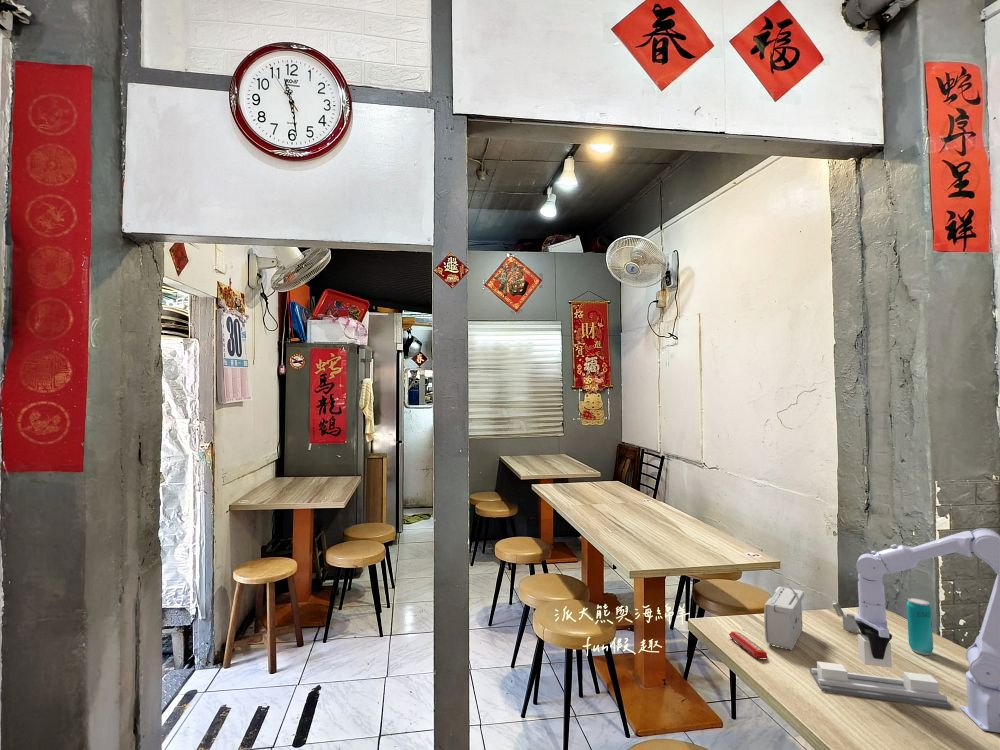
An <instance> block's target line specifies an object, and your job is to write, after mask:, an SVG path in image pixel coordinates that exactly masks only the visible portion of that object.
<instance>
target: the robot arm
mask: <svg viewBox="0 0 1000 750" xmlns="http://www.w3.org/2000/svg"><path fill="white" fill-rule="evenodd" d="M972 553H974V554H975V556H976V557H977V558H979V560H981V561H982V562H984V563H986V564H987V565H989V566H990V568H991V569H992V570H993V571H994V572H995V574H996V577H995V581H994V584H993V587H992V591H991V595H990V597H989V600H988V604H987V607H986V611H985V614H984V617H983V621H982V624H981V627H980V630H979V631H980V632H979V634H978V635H976V638H975V640H974V642H973V644H972V645H970V646H969V647H968V648H967V649H966V651H965V657H966V660H967V662H968V665H969V667H968V668H969V670H968V671H966V673H965V679H966V680H965V681H966V694H967V695H966V697H967V698H966V699H967V706H965V705H959V709H960V710H961V711H962V712H963V713H965V715H966V716H968V717H969V719H971V721H973V723H975V724H976V725H977V727H979V729H981V730H983V731H985V732H986V731H987V732H990V733H991V732H992V733H1000V533H998V532H996V531H994V530H992V529H989V528H985V527H984V528H983V527H981V528H976V529H974V530H972V531H971V530H966V531H961V532H958V533H955V534H951V535H947V536H943V537H942V538H939V539H935V540H931V541H928V542H925V543H923V544H919V545H916V546H913V547H909V546H907V545H904V544H899V545H897V544H896V543H894V544H890V547H889V548H886V549H882V550H879V551H876V550H872V551H871V552H870V553H863V554H861V555H860V556H859V557H858V558H857V561H856V564H855V565H856V566H855V567H856V571H857V573H858V574H857V579H858V581H857V590H858V592H857V593H858V608H857V615H854V618H855V619H856V620H855V622H856V623H857V625H858V627H859V633H861V634H860V635H867V637H868V639H869V642H870V647H871V652H872V656H873V658H875V659H883V658H884V655H885V651H886V647H887V645H888V643H890V641H891V640H892V639H893V635H892V634H891V633H890V630H889V629H888V620H887V615H886V614H887V612H886V596H885V595H886V593H885V585H884V583H883V576H884V575H886V574H887V575H891V574H895V573H900V572H904V571H906V570H910V569H914V568H917V566H918V563H919V561H924V560H927V559H932V558H933V559H934V558H936V557H941V556H947V555H950V554H959V555H962V556H966V557H970V558H973V555H972Z"/></svg>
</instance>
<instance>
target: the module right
mask: <svg viewBox="0 0 1000 750" xmlns="http://www.w3.org/2000/svg"><path fill="white" fill-rule="evenodd" d="M902 676H903V677H902V679H903V682H904V686H905V688H906V689H907V690H911V691H918V692H926V693H934V694H939V693H940V687H939V686H940V685H939V682H938V681H937V680H936V679H935V678H934V677H933V676H932V675H930V674H925V673H918V672H909V671H902Z"/></svg>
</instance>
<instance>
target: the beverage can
mask: <svg viewBox="0 0 1000 750" xmlns="http://www.w3.org/2000/svg"><path fill="white" fill-rule="evenodd" d="M931 607H932V606H930V602H929V601H927V600H925V599H921V598H917V597H910V598H909V597H908V598H907V602H906V615H907V616H906V617H907V633H908V634H907V636H908V645H909V647H910V649H911V651H913V652H914V653H916V654H919V655H921V656H923V655H924V656H931V654H932V652H934V639H933V638H934V637H933V635H934V634H933V621H932V620H933V619H932V608H931Z"/></svg>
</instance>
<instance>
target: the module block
mask: <svg viewBox="0 0 1000 750" xmlns="http://www.w3.org/2000/svg"><path fill="white" fill-rule="evenodd" d="M857 644H858V645H857V646H858V659H860V661H862V663H863V664H864V665H867V666H872V667H873V666H874V667H882V668H891V669H892V668H893V666H892V665H893V661H892V645H891V642H889V643H888V645H887V647H886V651H885V655H884V658H883V659H875V658H873V656H872V652H871V647H870V642H869V639H868V637H867V635H862V634H859V633H857Z"/></svg>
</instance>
